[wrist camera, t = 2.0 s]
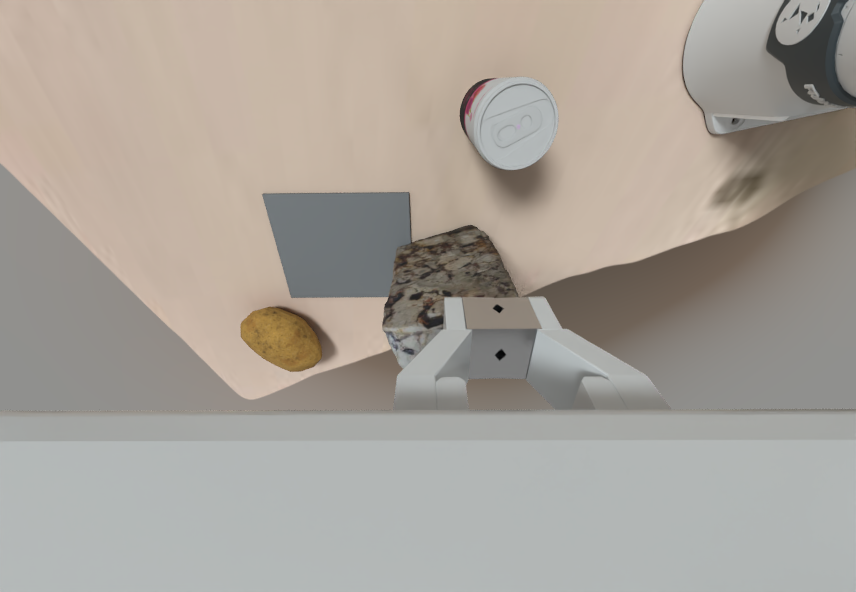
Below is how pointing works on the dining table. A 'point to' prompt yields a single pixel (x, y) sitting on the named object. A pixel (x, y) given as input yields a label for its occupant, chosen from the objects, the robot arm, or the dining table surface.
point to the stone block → (439, 285)
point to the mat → (339, 241)
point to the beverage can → (510, 120)
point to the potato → (281, 339)
